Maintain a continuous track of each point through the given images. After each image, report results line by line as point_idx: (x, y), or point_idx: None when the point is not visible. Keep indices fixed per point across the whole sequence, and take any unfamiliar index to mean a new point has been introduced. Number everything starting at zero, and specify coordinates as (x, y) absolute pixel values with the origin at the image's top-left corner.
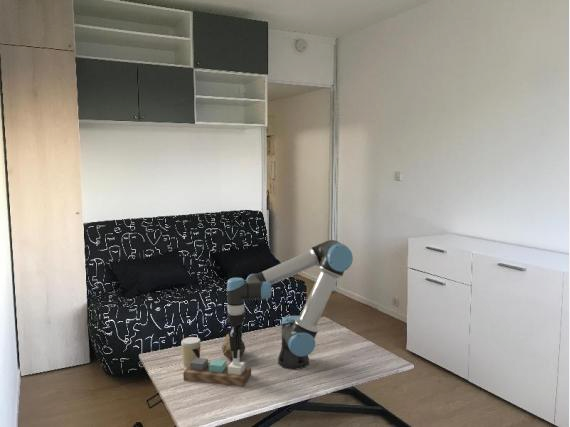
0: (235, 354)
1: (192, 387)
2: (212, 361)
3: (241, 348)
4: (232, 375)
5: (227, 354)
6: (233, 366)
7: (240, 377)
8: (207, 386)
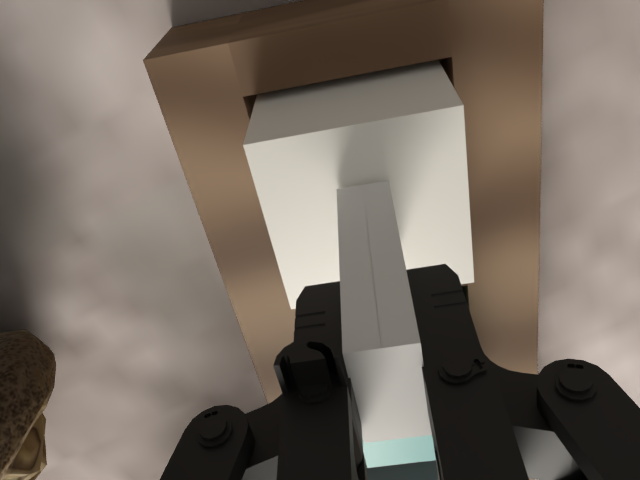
0: (471, 328)
1: (615, 369)
2: (391, 461)
3: (283, 349)
4: (495, 155)
5: (44, 428)
6: (445, 223)
7: (525, 27)
8: (574, 289)
